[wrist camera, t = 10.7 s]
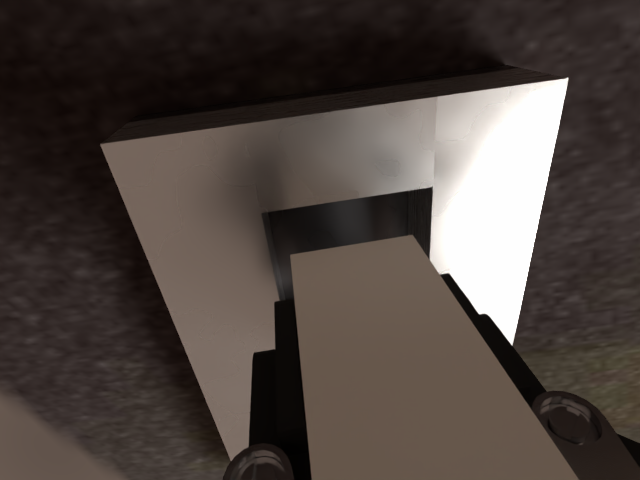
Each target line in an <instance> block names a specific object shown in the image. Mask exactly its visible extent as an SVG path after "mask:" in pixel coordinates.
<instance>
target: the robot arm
mask: <svg viewBox="0 0 640 480" xmlns="http://www.w3.org/2000/svg"><path fill="white" fill-rule="evenodd" d="M440 276H441V277H442V279H443V280H444V282H445V283H446V285H447V286H448V288H449V289H450V291H451V292H452V294H453V295H454V297H455V298H456V300H457V301H458V302H459V304H460V305H461V307H462V308H463V310H464V311H465V313H466V314H467V316H468V317H469V319H470V320H471V322H472V323H473V325H474V326H475V327H476V329H477V330H478V332H479V333H480V335H481V336H482V338H483V339H484V341H485V342H486V344H487V345H488V347H489V348H490V350H491V351H492V352H493V354H494V355H495V357H496V358H497V360H498V361H499V363H500V364H501V366H502V367H503V369H504V370H505V372H506V373H507V375H508V376H509V377H510V379H511V380H512V382H513V383H514V385H515V386H516V388H517V389H518V391H519V392H520V394H521V395H522V397H523V398H524V400H525V401H526V402H527V404H528V405H529V407H530V408H531V410H532V411H533V413H534V414H535V416H536V417H537V419H538V420H539V422H540V423H541V425H542V426H543V427H544V429H545V430H546V432H547V433H548V435H549V436H550V438H551V439H552V441H553V442H554V444H555V445H556V447H557V448H558V450H559V451H560V453H561V454H562V455H563V457H564V458H565V460H566V461H567V463H568V464H569V466H570V467H571V469H572V470H573V472H574V473H575V475H576V476H577V478H578V479H579V480H640V443H637V442H635V441H633V440H630V439H628V438H626V437H623V436H621V435H619V434H617V433H616V432H615V431H614V429H613V428H612V426H611V425H610V423H609V422H608V420H607V419H606V418H605V416H604V415H603V414H602V413H601V412H600V411H599V410H598V408H596V407H595V406H594V405H592V404H591V403H590V402H588V401H587V400H585V399H583V398H581V397H579V396H577V395H575V394H571V393H568V392H564V391H549V392H547V391H546V390H545V389H544V387H543V386H542V385H541V383H540V382H539V381H538V379H537V378H536V377H535V375H534V374H533V373H532V371H531V370H530V369H529V367H528V366H527V365H526V364H525V362H524V361H523V360H522V358H521V357H520V356H519V354H518V353H517V352H516V350H515V349H514V348H513V346H512V345H511V344H510V342H509V341H508V340H507V338H506V337H505V336H504V334H503V333H502V332H501V330H500V329H499V328H498V326H497V325H496V324H495V322H494V321H493V320H492V319H491V317H490V316H489V315H487V314H485V313H484V314H479V313H478V312H477V311H476V309H475V308H474V307H473V305H472V304H471V302H470V301H469V300H468V298H467V297H466V295H465V294H464V293H463V291H462V290H461V289H460V287H459V286H458V284H457V283H456V282H455V280H454V279H453V277H452V276H451V275H450V274H448V273H446V274H440ZM274 319H275V349H272V350H266V351H260V352H254V353H253V359H252V380H251V403H250V425H249V447H248V448H246V449H244V450H242V451H241V452H240V453H239V454H237V455H236V456H235V457H234V458H233V460H232V461H231V462H230V464H229V465H228V467H227V469H226V471H225V474H224V476H223V480H312V477H311V466H310V456H309V446H308V435H307V425H306V414H305V404H304V394H303V383H302V373H301V363H300V352H299V342H298V331H297V321H296V311H295V303H294V300H293V299H287V300H281V301H275V302H274Z"/></svg>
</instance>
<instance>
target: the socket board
mask: <svg viewBox="0 0 640 480" xmlns="http://www.w3.org/2000/svg"><path fill="white" fill-rule="evenodd" d="M568 79H569V78H565V77H561V76H556V75H551V74H547V73H542V72H537V71H532V70H528V69H523V68H518V67H513V66H509V65H504V66H497V67H489V68H482V69H475V70H468V71H460V72H453V73H446V74H439V75H431V76H424V77H417V78H410V79H403V80H395V81H388V82H381V83H374V84H366V85H359V86H352V87H345V88H337V89H330V90H323V91H316V92H309V93H301V94H294V95H287V96H280V97H272V98H265V99H258V100H251V101H243V102H236V103H229V104H222V105H215V106H207V107H200V108H193V109H186V110H178V111H171V112H164V113H157V114H149V115H142V116H136V117H134V118H133V119H132V120H131V121H129V122H128V123H127V124H125V125H124V126H123V127H122V128H120V129H119V130H118V131H116V132H115V133H114V134H113V135H111V136H110V137H109V138H107V139H106V140H105V141H103V142H102V143H101V144H100V145H101V148H102V150H103V153H104V155H105V158H106V160H107V162H108V165H109V167H110V170H111V172H112V174H113V177H114V179H115V182H116V184H117V187H118V189H119V191H120V194H121V196H122V199H123V201H124V203H125V206H126V208H127V211H128V213H129V216H130V218H131V220H132V223H133V225H134V228H135V230H136V233H137V235H138V237H139V240H140V242H141V245H142V247H143V249H144V252H145V254H146V257H147V259H148V262H149V264H150V266H151V269H152V271H153V274H154V276H155V278H156V281H157V283H158V286H159V288H160V291H161V293H162V295H163V298H164V300H165V303H166V305H167V307H168V310H169V312H170V315H171V317H172V320H173V322H174V324H175V327H176V329H177V332H178V334H179V336H180V339H181V341H182V344H183V346H184V349H185V351H186V353H187V356H188V358H189V361H190V363H191V366H192V368H193V370H194V373H195V375H196V378H197V380H198V382H199V385H200V387H201V390H202V392H203V395H204V397H205V399H206V402H207V404H208V407H209V409H210V411H211V414H212V416H213V419H214V421H215V424H216V426H217V428H218V431H219V433H220V436H221V438H222V440H223V443H224V445H225V448H226V450H227V453H228V455H229V457H230V460H231V461H232V460H233V458H234V457H235V456H236V455H237V454H239V453H240V452H241V451H242V450H244V449H246V448H248V447H249V425H250V403H251V380H252V359H253V353H254V352H260V351H266V350H272V349H275V319H274V302H275V301H281V300H287V299H293V300H294V290H293V279H292V269H291V259H290V255H291V254H298V253H304V252H310V251H316V250H322V249H328V248H335V247H341V246H347V245H353V244H359V243H365V242H371V241H378V240H384V239H390V238H396V237H402V236H408V235H413V236H414V238H415V239H416V241H417V242H418V244H419V245H420V247H421V248H422V249H423V251H424V252H425V254H426V255H427V257H428V258H429V260H430V261H431V263H432V264H433V266H434V267H435V269H436V270H437V272H438V273H439V274H446V273H448V274H450V275H451V276H452V277H453V279H454V280H455V282H456V283H457V284H458V286H459V287H460V289H461V290H462V291H463V293H464V294H465V295H466V297H467V298H468V300H469V301H470V302H471V304H472V305H473V307H474V308H475V309H476V311H477V312H478V313H479V314H484V313H485V314H487V315H489V316H490V317H491V319H492V320H493V321H494V322H495V324H496V325H497V326H498V328H499V329H500V330H501V332H502V333H503V334H504V336H505V337H506V338H507V340H508V341H509V342H510V344H511V345H513V340H514V335H515V330H516V326H517V321H518V316H519V311H520V307H521V302H522V297H523V292H524V288H525V283H526V278H527V273H528V269H529V264H530V259H531V254H532V250H533V245H534V240H535V235H536V231H537V226H538V221H539V216H540V212H541V207H542V202H543V197H544V193H545V188H546V183H547V178H548V174H549V169H550V164H551V159H552V155H553V150H554V145H555V140H556V136H557V131H558V126H559V121H560V117H561V112H562V107H563V102H564V98H565V93H566V88H567V83H568ZM294 303H295V300H294Z"/></svg>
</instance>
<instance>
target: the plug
mask: <svg viewBox="0 0 640 480" xmlns="http://www.w3.org/2000/svg"><path fill="white" fill-rule="evenodd" d="M290 259H291V269H292V279H293V290H294V300H295V311H296V321H297V331H298V342H299V352H300V363H301V373H302V383H303V394H304V404H305V414H306V425H307V435H308V446H309V456H310V466H311V477H312V480H579V479H578V478H577V476H576V475H575V473H574V472H573V470H572V469H571V467H570V466H569V464H568V463H567V461H566V460H565V458H564V457H563V455H562V454H561V453H560V451H559V450H558V448H557V447H556V445H555V444H554V442H553V441H552V439H551V438H550V436H549V435H548V433H547V432H546V430H545V429H544V427H543V426H542V425H541V423H540V422H539V420H538V419H537V417H536V416H535V414H534V413H533V411H532V410H531V408H530V407H529V405H528V404H527V402H526V401H525V400H524V398H523V397H522V395H521V394H520V392H519V391H518V389H517V388H516V386H515V385H514V383H513V382H512V380H511V379H510V377H509V376H508V375H507V373H506V372H505V370H504V369H503V367H502V366H501V364H500V363H499V361H498V360H497V358H496V357H495V355H494V354H493V352H492V351H491V350H490V348H489V347H488V345H487V344H486V342H485V341H484V339H483V338H482V336H481V335H480V333H479V332H478V330H477V329H476V327H475V326H474V325H473V323H472V322H471V320H470V319H469V317H468V316H467V314H466V313H465V311H464V310H463V308H462V307H461V305H460V304H459V302H458V301H457V300H456V298H455V297H454V295H453V294H452V292H451V291H450V289H449V288H448V286H447V285H446V283H445V282H444V280H443V279H442V277H441V276H440V274H439V273H438V272H437V270H436V269H435V267H434V266H433V264H432V263H431V261H430V260H429V258H428V257H427V255H426V254H425V252H424V251H423V249H422V248H421V247H420V245H419V244H418V242H417V241H416V239H415V238H414V236H413V235H408V236H402V237H396V238H390V239H384V240H378V241H371V242H365V243H359V244H353V245H347V246H341V247H335V248H328V249H322V250H316V251H310V252H304V253H298V254H291V255H290Z"/></svg>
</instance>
